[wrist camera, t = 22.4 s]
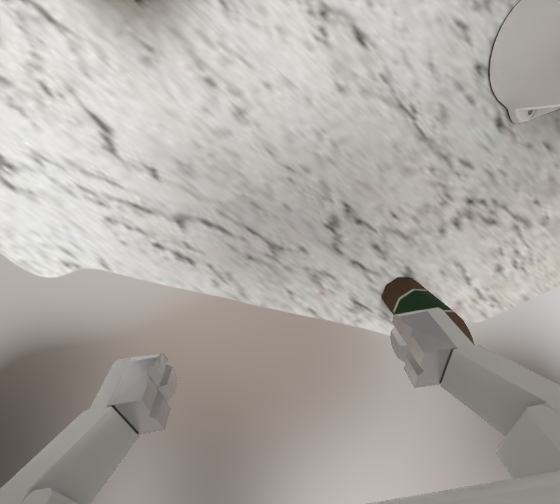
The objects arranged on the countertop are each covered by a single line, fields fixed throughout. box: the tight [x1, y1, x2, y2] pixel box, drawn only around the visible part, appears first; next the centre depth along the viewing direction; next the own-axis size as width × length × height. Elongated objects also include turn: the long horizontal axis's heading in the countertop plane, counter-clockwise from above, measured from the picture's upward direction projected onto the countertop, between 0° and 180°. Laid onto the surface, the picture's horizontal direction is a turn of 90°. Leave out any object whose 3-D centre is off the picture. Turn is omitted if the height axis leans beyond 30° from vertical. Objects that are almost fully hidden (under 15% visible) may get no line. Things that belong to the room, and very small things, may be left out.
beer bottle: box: [382, 278, 475, 345], centre depth 41 cm, size 8×8×24 cm
